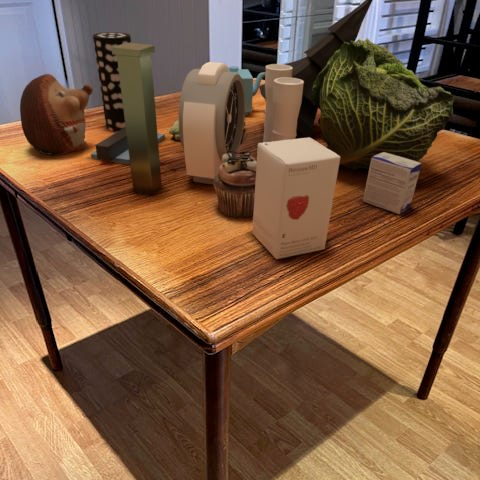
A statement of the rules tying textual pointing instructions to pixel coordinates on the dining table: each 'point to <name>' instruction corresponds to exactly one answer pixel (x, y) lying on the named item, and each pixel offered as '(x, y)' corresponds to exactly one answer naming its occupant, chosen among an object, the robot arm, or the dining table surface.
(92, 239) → the dining table surface
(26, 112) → the figurine
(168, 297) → the dining table surface
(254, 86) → the teapot
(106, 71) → the white-spotted black cylinder
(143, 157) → the olive green post
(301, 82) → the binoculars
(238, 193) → the cupcake
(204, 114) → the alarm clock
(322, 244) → the rectangular carton
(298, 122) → the decorative tree
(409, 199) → the box
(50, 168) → the dining table surface
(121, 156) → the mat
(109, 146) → the bar
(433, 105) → the cabbage
